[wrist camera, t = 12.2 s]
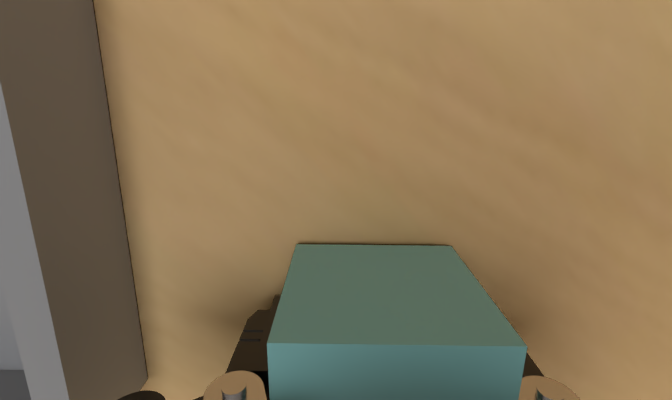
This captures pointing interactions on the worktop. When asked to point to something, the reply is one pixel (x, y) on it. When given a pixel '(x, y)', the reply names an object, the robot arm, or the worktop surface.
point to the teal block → (389, 328)
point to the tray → (61, 215)
